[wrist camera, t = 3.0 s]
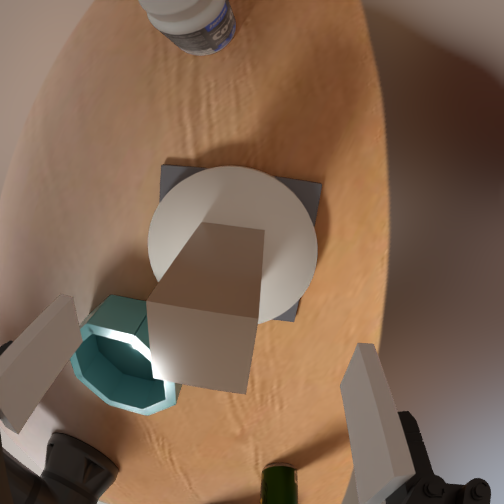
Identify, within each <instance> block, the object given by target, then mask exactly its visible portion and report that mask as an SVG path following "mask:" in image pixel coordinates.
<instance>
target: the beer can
mask: <svg viewBox="0 0 504 504" xmlns="http://www.w3.org/2000/svg"><path fill="white" fill-rule="evenodd" d="M260 504H298V481H297V470H296V468H295V467H294V466H293V465H291V464H288V463H273V464H269V465H267V466H266V467H264V469H263V471H262V476H261V494H260Z"/></svg>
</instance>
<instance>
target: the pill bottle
mask: <svg viewBox="0 0 504 504" xmlns="http://www.w3.org/2000/svg"><path fill="white" fill-rule="evenodd" d="M139 3H140V5H141V6H142V8H143V9H144V10H145V11H146V12H147V16H148V18H149V20H150V22H151V23H152V25H153V26H154V27H155V28H157V29H158V30H159V31H160V32H161V33H162V34H164V35H165V36H166V37H167V38H169V39H170V40H171V41H172V42H173V43H174V44H176V45H177V46H178V47H179V48H180V49H182V50H183V51H185V52H187V53H189V54H192V55H199V56H203V55H210V54H213V53H216V52H218V51H220V50H221V49H223V48H224V47H225V46H227V45H228V44H229V42H230V41H231V40H232V38H233V36H234V33H235V30H236V22H235V18H234V15H233V12H232V9H231V6H230V3H229V0H139Z"/></svg>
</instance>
